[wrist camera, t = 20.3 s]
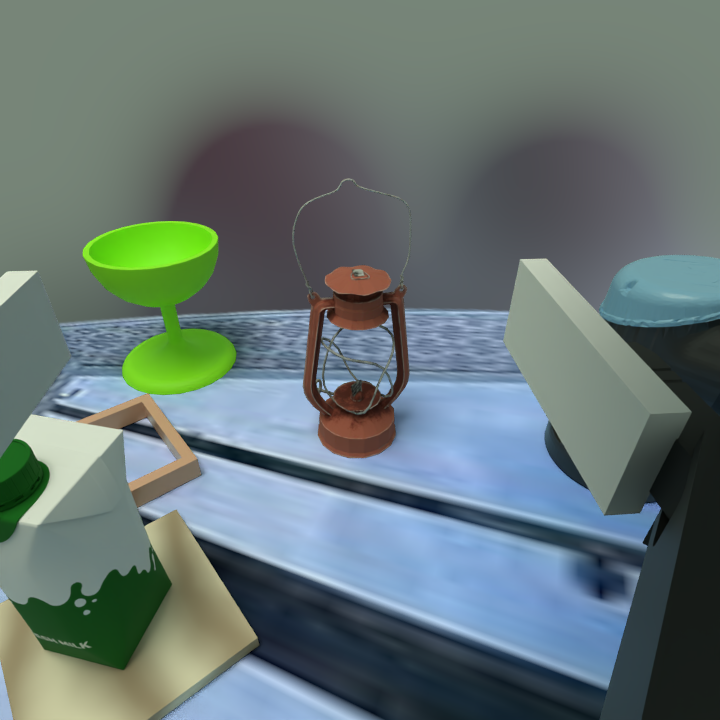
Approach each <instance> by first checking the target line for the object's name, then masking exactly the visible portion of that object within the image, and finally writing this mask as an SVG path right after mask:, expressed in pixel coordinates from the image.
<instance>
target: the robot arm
mask: <svg viewBox="0 0 720 720" xmlns="http://www.w3.org/2000/svg"><path fill="white" fill-rule="evenodd" d="M599 311H600V315H599V314H598V313H597V312H596V311H595V309H594V308H593V307H592V306H591V305H590V304H589V303H588V302H587V301H586V300H585V299H584V298H583V297H582V296H581V295H580V294H579V293H578V292H577V291H576V289H575V288H574V287H573V286H572V285H571V284H570V283H569V282H568V281H567V280H566V279H565V278H564V277H563V276H562V275H561V274H560V273H559V272H558V270H557V269H556V268H555V267H554V266H553V265H552V264H551V263H550V262H549V261H548V260H547V259H521V260H520V263H519V268H518V273H517V278H516V282H515V287H514V292H513V297H512V302H511V306H510V311H509V316H508V321H507V326H506V330H505V335H504V340H503V342H504V343H505V345H506V347H507V349H508V350H509V352H510V354H511V355H512V357H513V359H514V361H515V362H516V364H517V366H518V368H519V369H520V371H521V373H522V374H523V376H524V378H525V380H526V381H527V383H528V385H529V387H530V388H531V390H532V392H533V393H534V395H535V397H536V399H537V400H538V402H539V404H540V405H541V407H542V409H543V411H544V412H545V414H546V416H547V418H548V419H549V421H548V424H547V427H546V431H545V444H546V447H547V450H548V452H549V454H550V455H551V457H552V459H553V460H554V461H555V463H556V464H557V465H558V466H559V467H560V468H561V469H562V470H563V471H564V472H565V473H566V474H567V475H568V476H570V477H571V478H572V479H574V480H575V481H577V482H578V483H580V484H581V485H583V486H585V487H587V488H589V490H590V492H591V493H592V495H593V497H594V499H595V500H596V502H597V504H598V505H599V507H600V509H601V511H602V512H603V514H604V515H618V514H635V513H640V512H641V510H642V508H643V506H644V504H645V502H655V501H656V502H657V503H658V505H659V506H660V507H661V510H660V512H659V514H658V515H657V517H656V519H655V521H654V523H653V525H652V526H651V528H650V530H649V532H648V534H647V535H646V537H645V539H644V541H643V544H645V545H647V546H648V547H647V551H646V554H645V558H644V562H643V565H642V569H641V572H640V576H639V580H638V583H637V587H636V590H635V594H634V597H633V601H632V605H631V608H630V612H629V615H628V619H627V623H626V626H625V630H624V633H623V637H622V641H621V644H620V648H619V651H618V655H617V659H616V662H615V666H614V669H613V673H612V677H611V680H610V684H609V687H608V691H607V694H606V698H605V702H604V705H603V709H602V712H601V716H600V720H720V259H717V258H712V257H704V256H694V255H664V256H656V257H649V258H644V259H641V260H638V261H635V262H632V263H630V264H628V265H627V266H625V267H623V268H622V269H621V270H620V271H619V272H618V273H617V274H616V275H615V277H614V279H613V280H612V283H611V285H610V288H609V290H608V293H607V295H606V298H605V300H604V301H603V302H602V304H601V305H600V309H599ZM70 358H71V354H70V352H69V349H68V347H67V344H66V341H65V339H64V336H63V334H62V331H61V329H60V326H59V324H58V321H57V319H56V316H55V314H54V311H53V308H52V306H51V303H50V301H49V298H48V296H47V293H46V291H45V288H44V286H43V283H42V281H41V278H40V275H39V273H38V271H10V272H7V273H5V274H4V275H3V276H2V277H1V278H0V458H1V456H2V455H3V453H4V452H5V451H6V449H7V448H8V446H9V445H10V443H11V442H12V441H13V439H14V438H15V436H16V435H17V433H18V432H19V431H20V429H21V428H22V426H23V425H24V423H25V422H26V421H27V419H28V418H29V416H30V415H31V413H32V412H33V411H34V409H35V408H36V406H37V405H38V403H39V402H40V401H41V399H42V398H43V396H44V395H45V393H46V392H47V391H48V389H49V388H50V386H51V385H52V383H53V382H54V381H55V379H56V378H57V376H58V375H59V373H60V372H61V371H62V369H63V368H64V366H65V365H66V363H67V362H68V361H69V359H70Z"/></svg>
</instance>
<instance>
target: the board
mask: <svg viewBox="0 0 720 720" xmlns="http://www.w3.org/2000/svg"><path fill="white" fill-rule="evenodd" d="M144 527H145V530H146V532H147V535H148V538H149V540H150V543H151V545H152V547H153V549H154V551H155V552H156V554H157V556H158V558H159V560H160V562H161V564H162V566H163V568H164V569H165V571H166V573H167V575H168V577H169V579H170V581H171V583H172V585H171V587H170V589H169V591H168V592H167V594H166V596H165V598H164V600H163V601H162V603H161V605H160V607H159V609H158V610H157V612H156V614H155V616H154V617H153V619H152V621H151V623H150V625H149V626H148V628H147V630H146V632H145V633H144V635H143V637H142V639H141V641H140V642H139V644H138V646H137V648H136V650H135V651H134V653H133V655H132V657H131V658H130V660H129V662H128V664H127V666H126V667H125V669H124V670H120V669H117V668H113V667H109V666H105V665H101V664H98V663H94V662H90V661H86V660H82V659H78V658H75V657H71V656H67V655H63V654H59V653H55V652H52V651H48V650H44V649H43V647H42V646H41V644H40V643H39V641H38V640H37V638H36V637H35V635H34V634H33V632H32V631H31V629H30V628H29V626H28V625H27V623H26V622H25V620H24V619H23V618H22V616H21V615H20V614H19V612H18V611H17V609H16V608H15V607H14V605H13V604H12V603H11V601H10V600H9V599H8V600H6V601H4V602H2V603H0V660H1V665H2V670H3V674H4V679H5V683H6V688H7V693H8V697H9V702H10V706H11V711H12V715H13V720H160V719H162V718H163V717H164V716H166V715H167V714H168V713H170V712H171V711H172V710H174V709H175V708H176V707H178V706H179V705H180V704H182V703H183V702H184V701H186V700H187V699H188V698H190V697H191V696H192V695H194V694H195V693H196V692H198V691H199V690H200V689H202V688H203V687H204V686H206V685H207V684H208V683H210V682H211V681H212V680H214V679H215V678H216V677H218V676H219V675H220V674H222V673H223V672H224V671H225V670H227V669H228V668H229V667H231V666H232V665H233V664H235V663H236V662H237V661H239V660H240V659H241V658H243V657H244V656H245V655H247V654H248V653H249V652H251V651H252V650H253V649H255V648H256V647H257V646H259V642H258V638H257V636H256V634H255V633H254V631H253V630H252V628H251V627H250V625H249V623H248V622H247V620H246V619H245V617H244V616H243V614H242V612H241V611H240V609H239V608H238V606H237V604H236V603H235V601H234V600H233V598H232V597H231V595H230V593H229V592H228V590H227V589H226V587H225V586H224V584H223V582H222V581H221V579H220V578H219V576H218V574H217V573H216V571H215V570H214V568H213V567H212V565H211V563H210V562H209V560H208V559H207V557H206V556H205V554H204V552H203V551H202V549H201V548H200V546H199V545H198V543H197V541H196V540H195V538H194V537H193V535H192V533H191V532H190V530H189V529H188V527H187V526H186V524H185V522H184V521H183V519H182V518H181V516H180V515H179V513H178V511H177V510H174V511H172V512H171V513H169V514H167V515H165V516H163V517H161V518H159V519H157V520H156V521H154V522H152V523H150V524H148V525H146V526H144Z"/></svg>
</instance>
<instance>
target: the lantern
mask: <svg viewBox="0 0 720 720" xmlns="http://www.w3.org/2000/svg"><path fill="white" fill-rule="evenodd" d="M346 180H351V181H353V182H354V184H355V185H356V186H357V187H359V188H361V189H364V190H368V191H372V192H376V193H380V194H384V195H388V196H391V197H394V198H397V199H399V200H401V201H403V202H404V203H405V204H406V205H407V207H408V209H409V215H410V244H409V245H410V246H409V254H408V259H407V262H406V264H405V267H404V269H403V271H402V274H401V275H400V277H401V280H400V281H401V282H400V285H399V286H398V287H397V288H396V289H395V291H394V292H389V293H383V290H386V289H387V288H388V287H389V285H390V282H391V279H390V277H389V275H388V274H387V273H386V272H385V271H383V270H375V269H373V268H371V267H369V266H365V265H361V266H355V267H340V268H337V269H335V270H334V271H333V272H332V273H330V274H328V275H326V277H325V284H326V285H327V286H329V287H330V288H331V289H332V290H333V297H330V298H320V296H319V295H318V294H317V293H316V292H313V290H312V289H311V287H309V284H308V281H307V279H306V277H305V274H304V272H303V269H302V267H301V265H300V262H299V260H298V256H297V253H296V250H295V245H294V231H295V224H296V221H297V218H298V216H299V213H300V212H301V210H302V208H303V207H304V206H305V205H306V204H308V203H310V202H311V201H313V200H316V199H318V198H320V197H323V196H326V195H329V194H332V193H334V192H336V191H337V190H339V188H340V186H341V185H342V183H343V182H344V181H346ZM292 237H293V247H294V252H295V255H296V258H297V261H298V263H299V266H300V268H301V271H302V273H303V276H304V278H305V281H306V286H307V287H308V288H309V294H308V296H307V298H308V301H309V302H310V304H311V305H312V306H311V312H310V322H309V331H308V341H307V350H306V360H305V370H304V379H303V389H304V394H305V396H306V398H307V399H308V401H309V402H310V403H311V404H312V405H313V407H315V408H316V409H317V410H318V411H320V417H319V421H320V424H319V428H318V437H319V439H320V441H321V443H322V445H323V446H325V447H326V448H327V449H329V450H330V451H331V452H332V453H334V454H337V455H341V456H344V457H347V458H366V457H370V456H373V455H376V454H380V453H381V452H382V451H384V450H385V449H386V448H388V447H389V446H391V444H392V442H393V440H394V438H395V436H396V431H395V424H394V408H393V407H392V406H391V404H392V403H393V402H394V401H395V400H396V399H397V398H398V396H399V395H400V394H401V392H402V391H403V390H404V388H405V387H406V385H407V382H408V379H409V360H408V348H407V335H406V322H405V309H404V299H403V297H404V295H405V293H406V291H407V287H406V286H405V285H403V279H404V277H403V272H404V270H405V268H406V265H407V263H408V260H409V256H410V249H411V212H410V208H409V206H408V204H407V203H406V202H405V201H404V200H402V199H401V198H399V197H396V196H393V195H390V194H386V193H382V192H377V191H374V190H370V189H366V188H363V187H360V186H358V185H357V184H356V183H355V181H354V180H352V179H345V180H343V181H342V182H341V183H340V185H339V187H338V188H337V189H336V190H335V191H333V192H330V193H328V194H325V195H322V196H319V197H317V198H314V199H312V200H310V201H309V202H307V203H305V204H304V205H303V206H302V207H301V209H300V210H299V212H298V214H297V216H296V219H295V223H294V227H293V235H292ZM401 283H402V284H401ZM400 288H401V289H403V288H404V290H403V291H399V289H400ZM310 289H311V291H312V292H310ZM314 296H315V298H314V299H311V298H310V297H312V298H313V297H314ZM386 304H390V305H391V314H392V323H393V333H394V337H393V334H392V333H391V332H390V331H389V330H388V328H386V327H384V326H382V324H384V323H385V322H386V320H387V319H388V318H389V315H388V311H387V309H386V308H385V307H384V306H383V305H386ZM325 310H328V311H327V318H328V319H329V321H330V322H331V323H332V324H334V325H336V326H338V327H340V329H339V330H338V332H337V333H336V334H335V335H334V336H333V338H332V340H329V339H327V338H321V336H322V329H323V321H324V314H325ZM378 326H379V327H381V328H383V329H385V330H387V331H388V333H389V334H390V335H391V337H392V341H393V346H392V353H391V355H390V358H389V361H388V363H387V365H386V367H385V369H384V367H382V366H380V365H378V364H376V363H373V362H368V361H361V360H355V359H350V358H346V357H344V356H343V355H342V353H341V351H340V349H339V348H338V347H337V345H336V344H335V343H334V342H333V341H334V338H335V337H336V336H337V335H338V334H339V332H340V331H341V330H342V329H349V330H367V329H372V328H376V327H378ZM322 340H326V341H328V342H330V345H329V347H327V346H326V345H325V344H324V343H323V341H322ZM321 343H322V345H323V346H324V347H325V348H326V349H327V353H326V356H325V360H324V364H323V372H322V379H323V386H324V388H325V390H323V389H322V381H321V380H320V379H317V380H316V374H317V367H318V359H319V352H320V344H321ZM332 344H333V345H334V346H335V347H336V348H337V349H338V351H339V353H340V355H339V354H337V353H335V352H334V351H332V350H331V349H330V347H331V345H332ZM394 346H395V352H396V361H397V377H396V381H395V383H394V385H393V384H392V381H391V379H390V376H389V374H388V373H387V371H386V369H387V367H388V366H389V364H390V361H391V358H392V356H393V353H394ZM329 351H330V352H331V353H333V354H334V355H336V356H338V357H340V358H342V359H343V361H344V363H345V365H346V367H347V369H348V371H349V372H350V374H351V375H352V376H353V377H354V379H355V380H356V381H352V382H348V383H344V384H342V385H341V386H339V387H337V389H336V390H335V391H334V393H333V392H330V391H328V390H327V388H326V386H325V381H324V370H325V363H326V360H327V356H328V352H329ZM345 360H348V361H352V362H357V363H364V364H370V365H375V366H377V367H379V368H381V369H383V373H382V375H381V377H380V379H379V382H378V384H377V386H376V387H375V386H373V385H372V384H371V383H370V382H367V381H361V380H357V378H356V377H355V376H354V375H353V373H352V372H351V371H350V369H349V367H348V365H347V363H346V361H345ZM384 373H385V374H386V375H387V376H388V379H389V382H390V384H391V389H390V391H389V392H388V394H387V395H383V394H381V393H380V391H379V390H378V387H379V384H380V382H381V380H382V378H383V375H384ZM317 382H319V388H317V385H316V383H317ZM320 392H324V393H327V394H328V395H329V396H330V398H329V399H327V400H326V401H325V400H324V399H323V398H322V397H321V395H320ZM330 394H331V395H334V396H331V395H330ZM383 397H384V398H383Z"/></svg>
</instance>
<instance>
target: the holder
mask: <svg viewBox="0 0 720 720" xmlns="http://www.w3.org/2000/svg"><path fill="white" fill-rule="evenodd" d="M146 417H147V418H148V420H149V421H150V423H151V424H152V425H153V427H154V428H155V430H156V431H157V433H158V434H159V435H160V437H161V438H162V440H163V441H164V443H165V444H166V445H167V447H168V448H169V450H170V451H171V452H172V454H173V455H174V457H175V458H176V461H174V462H172V463H170V464H168V465H166V466H164V467H162V468H160V469H157V470H155V471H153V472H151V473H149V474H147V475H145V476H143V477H141V478H139V479H137V480H135V481H132V482H130V483H128V485H129V488H130V490H131V493H132V496H133V498H134V501H135V503H136V506H137V508H138V507H139V506H141V505H143V504H145V503H147V502H149V501H151V500H153V499H155V498H157V497H159V496H161V495H163V494H165V493H167V492H169V491H171V490H173V489H175V488H177V487H179V486H181V485H183V484H185V483H187V482H188V481H190V480H192V479H194V478H196V477H198V476H200V475H201V471H200V467H199V463H198V460H197V458H196V456H195V455H194V454H193V452H192V451H191V450H190V448H189V447H188V446H187V444H186V443H185V442H184V440H183V439H182V438H181V436H180V435H179V434H178V432H177V431H176V430H175V428H174V427H173V426H172V424H171V423H170V422H169V421H168V419H167V418H166V417H165V415H164V414H163V413H162V411H161V410H160V409H159V407H158V406H157V405H156V403H155V402H154V401H153V399H152V398H151V397H150V395H149V394H145V395H142V396H140V397H137V398H135V399H132V400H130V401H127V402H125V403H122V404H120V405H117V406H115V407H112V408H110V409H107V410H104V411H102V412H99V413H97V414H94V415H92V416H89V417H87V418H84V419H82V420H79V421H77V422H78V423H84V424H90V425H96V426H102V427H108V428H113V429H120V428H122V427H125V426H127V425H129V424H132V423H134V422H137V421H139V420H141V419H144V418H146Z"/></svg>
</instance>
